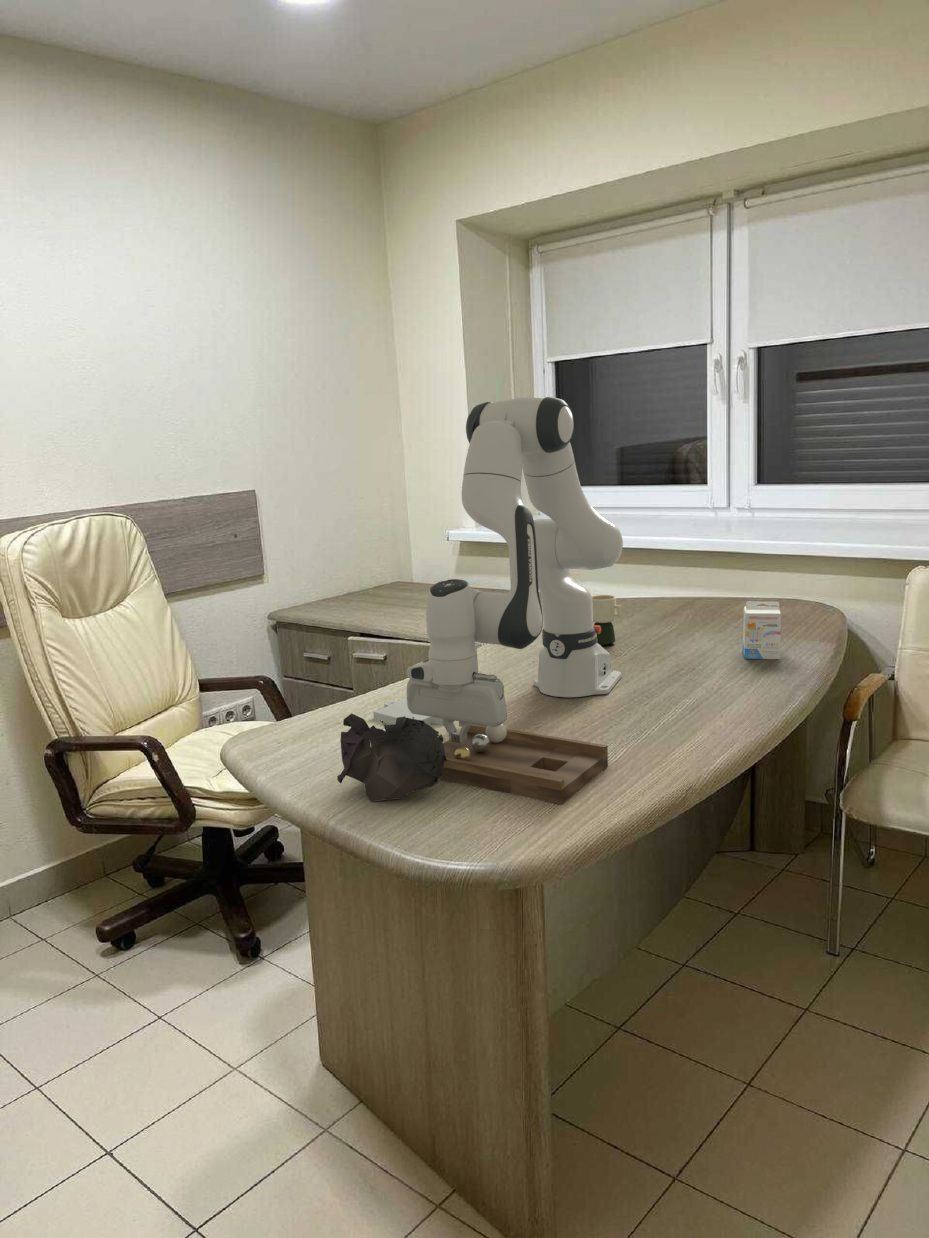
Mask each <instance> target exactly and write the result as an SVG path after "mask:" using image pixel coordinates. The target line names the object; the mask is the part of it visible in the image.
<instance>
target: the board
mask: <svg viewBox="0 0 929 1238" xmlns="http://www.w3.org/2000/svg"><path fill="white" fill-rule="evenodd" d="M486 728H487V726H485V725H479V724H471V726H470V728H469V730H468V732H467V742H465V743H464V744H462V743H456V742H450V741H449V739H448V740H446V741H445V742H444V741H443V744H444V749H445V757H446V759H447V761H445V762H444V767H443V773H442V778H441V779H439V780H441V781H446V782H450V783H455V784H461V785H464V786H465V785H466V786H470V787H474V788H475V787H476V788H479V789H484V790H488V791H489V790H490V791H493V792H499V793H504V794H508V795H514V796H517V797H518V796H519V797H524V798H528V799H534V800H538V801H544V802H548V803H552V804H553V803H554V804H558V805H561V806H562V805H563V804H565V802H567V801H568V800H569V799H570V798H571V797H573V796H574V795H575V794H576V793H577V792H579V791H580V790H582V788H584V787H585V786H586V785H588V784H589V783H590V782H591V781H593V779H595V778H596V777H597V776H599V774H601V773H602V772H603V771H605V770H606V769H607V768H608V767H609V760H608V759H609V758H608V757H609V755H608V753H609V751H608V745H607V744H602V743H597V742H596V743H595V742H589V741H582V740H576V739H572V738H571V739H570V738H564V737H560V736H559V737H558V736H552V735H547V734H546V735H545V734H540V733H533V732H527V731H521V730H515V729H509V728H506V730H507V735H506V737H505V739H504V740H503V741H502V742H499V743H493V742H491V741H490V746H489V748H488V750H487V751H485V752H482V753H479V752H476V751H475V750H474V749H473V748H472V745H471V741H472V739H473V737H474V736H475V735H477V734H484V735H486V733H485V731H486ZM459 747H466V748H468V749H469V750H470V752H471V759H470V760H469V761H464V760H459V759H455V757H454V753H455V751H456V749H457V748H459ZM447 753H448V755H447ZM446 772H447V773H446Z"/></svg>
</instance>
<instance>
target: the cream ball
mask: <svg viewBox="0 0 929 1238" xmlns="http://www.w3.org/2000/svg"><path fill="white" fill-rule="evenodd" d="M506 729H507V726H506V725H505V724H504V723H502V724H501V725H499V726H497V727H491V726H487V728H486V731H485V733H486V736H487V737H488V738H489V740H490V741H491V742H493V743H499V742H502V741H503V740H504V739H505V737H506V735H507V730H506Z"/></svg>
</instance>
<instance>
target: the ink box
mask: <svg viewBox="0 0 929 1238" xmlns="http://www.w3.org/2000/svg"><path fill="white" fill-rule="evenodd" d="M745 603H746V604H745V605H744V606H743V618H742V619H743V623H742V625H743V626H742V649H741V650H742V654H743V657H744V659H745V660H780V659H781V639H782V638H781V637H782V635H781V634H782V633H781V632H782V629H781V628H782V611H781V610H780V602H779V601H756V600H755V601H750V600H748V601H747V602H745ZM762 604H763V605H766V606H763V605H762ZM759 605H762V606H759Z"/></svg>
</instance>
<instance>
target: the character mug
mask: <svg viewBox="0 0 929 1238" xmlns="http://www.w3.org/2000/svg"><path fill="white" fill-rule="evenodd" d="M591 597H592V605H593V625H595V626H597V625H600V627H601V633H600V634H597V640H598V642H597V643H598V644H599V645H600V646H603V645H608V646H609V645H610V644H612V643H616V635H615V628H614V627H615V626H614V624H613V622H614V621H615V620H616V618H621V617H622V605H620V604H617V597H616V596H615V595H611V594H597V595H591Z"/></svg>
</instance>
